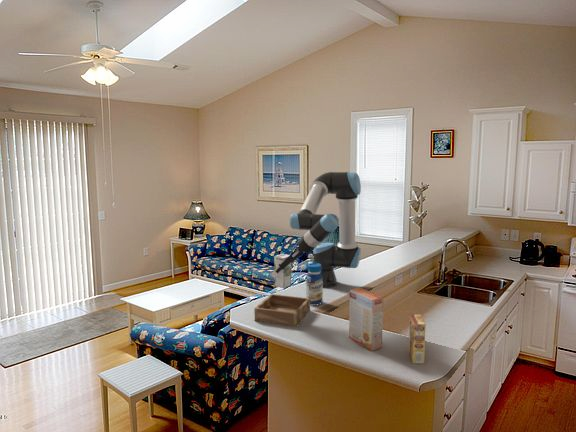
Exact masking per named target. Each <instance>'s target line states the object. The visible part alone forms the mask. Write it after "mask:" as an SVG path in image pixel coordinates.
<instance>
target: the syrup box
mask: <svg viewBox="0 0 576 432" xmlns="http://www.w3.org/2000/svg"><path fill="white" fill-rule="evenodd" d="M289 256H290V254H286V253H280V254H277V255H275V256H273V259H274V263H273V266H274V267H273V269H274V270H275V269H276V268H277V267H278V266H279V265H278V264H281V263H282V262H283V261H285V260H286V259H287V258H288V257H289ZM274 270H273V271H274ZM273 280H274V281H273V282H274V283H273V284H274V285H273V286H274V287H277V288H281V289H286V288H288V287H291V286H292V265H291V263H290V264H289V265H288V266H287V267H286V268H284V270H283V271H282V272H281V273H280V274H279V275H278V276H277V277H276V278H273Z"/></svg>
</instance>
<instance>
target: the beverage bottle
mask: <svg viewBox="0 0 576 432" xmlns="http://www.w3.org/2000/svg"><path fill="white" fill-rule="evenodd" d="M320 272H321V264H319V263H313V262H311V263H308V264H307V275H306V281H305V285H306V288H305V290H306V291H305V292H306V297H305V298H309V299H310V306H313V305H316V306H318V305H317V304H320V303H322V304H323V301H324V299H323V294H324V293H323V289H324V287H323V281H322V279H323V276H322V274H321V273H320ZM320 305H321V304H320Z"/></svg>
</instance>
